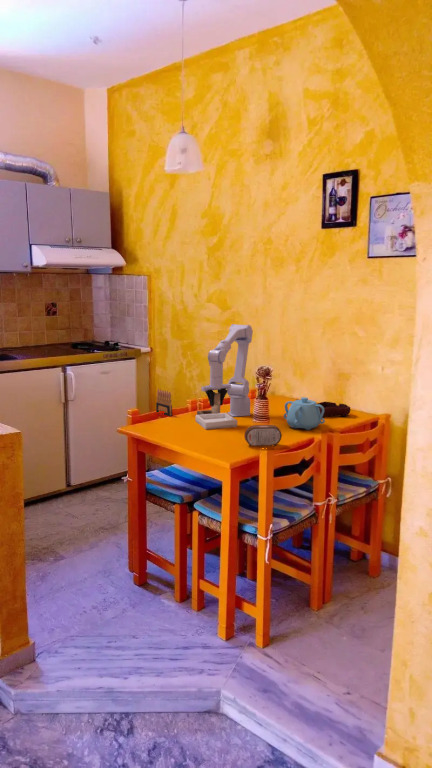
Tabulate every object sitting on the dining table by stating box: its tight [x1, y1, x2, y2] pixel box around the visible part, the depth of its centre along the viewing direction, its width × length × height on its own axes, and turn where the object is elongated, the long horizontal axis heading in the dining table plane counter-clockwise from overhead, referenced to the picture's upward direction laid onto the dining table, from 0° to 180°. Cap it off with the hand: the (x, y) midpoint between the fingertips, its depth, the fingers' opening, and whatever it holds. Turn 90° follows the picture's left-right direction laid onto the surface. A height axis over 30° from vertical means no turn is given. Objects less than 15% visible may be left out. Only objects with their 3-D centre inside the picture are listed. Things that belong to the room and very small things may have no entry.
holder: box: [196, 409, 213, 415], centre depth 284 cm, size 8×8×2 cm
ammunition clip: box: [155, 388, 173, 417], centre depth 287 cm, size 11×2×12 cm, turn 43°
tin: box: [243, 424, 283, 447], centre depth 236 cm, size 15×3×8 cm, turn 99°
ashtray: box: [317, 401, 351, 418], centre depth 290 cm, size 18×16×5 cm
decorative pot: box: [283, 396, 326, 431], centre depth 265 cm, size 16×16×14 cm
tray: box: [195, 412, 238, 430], centre depth 269 cm, size 15×15×3 cm
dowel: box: [211, 392, 221, 414], centre depth 268 cm, size 4×4×9 cm
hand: (216, 405), depth 268 cm, fingers closed on dowel, 4 cm apart
